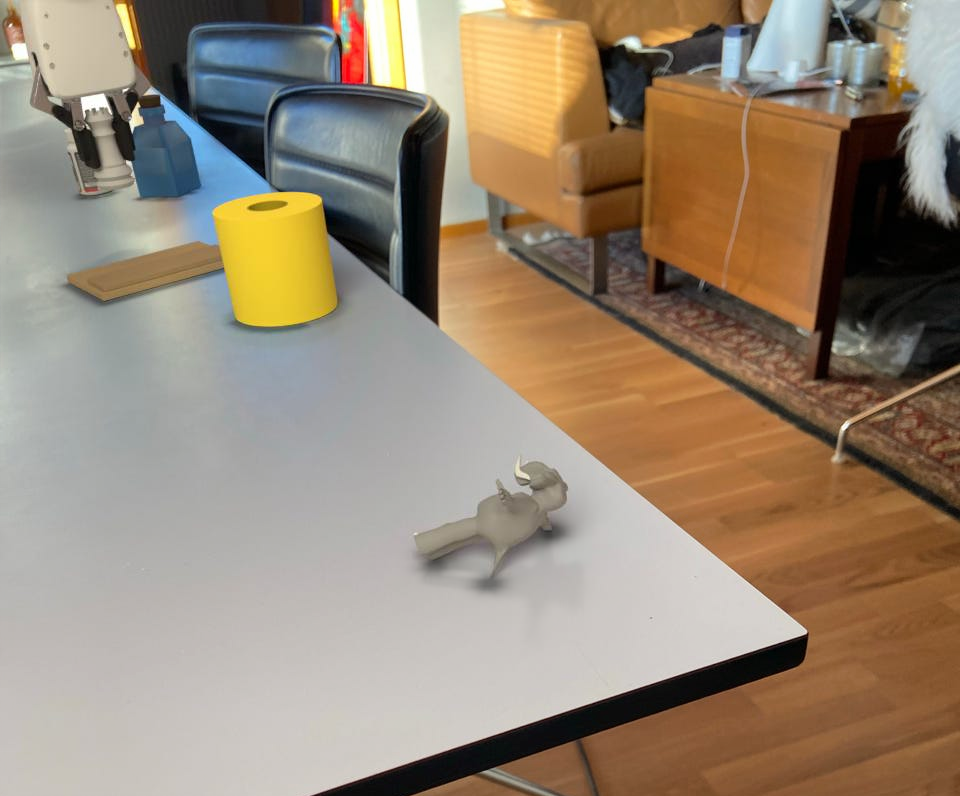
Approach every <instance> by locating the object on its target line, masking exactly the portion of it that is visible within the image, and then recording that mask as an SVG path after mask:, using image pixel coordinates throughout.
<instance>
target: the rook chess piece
mask: <svg viewBox="0 0 960 796" xmlns="http://www.w3.org/2000/svg"><path fill="white" fill-rule="evenodd" d="M84 115H85V116H84V123H86V126H89V127H90V130H91V131H92V134H93V138H94V142H95V145H96V149H97V152H98V156H99V160H100V163H101V167H100V168H98V169H96V170H95V172H94V177H95V178H97V179H98V180H99V181H98V182H97V184H96V185H97V186H98V187H99V188H100V189H101V190H111V191H117V190H122V189H127V188H130V187H132V186H134V183H135V182H136V179H135V176H134V177H133V176H132V173H133V172H134V171H133V168H132V166H130V165H129V164H128V163H127V160H124V159H123V157H122V155H121V153H120V150H119V148H118V145H117V143H116V139H115V131H114V130H113V128H112V124H111V123H112V121H113V118H114V117H113V116H112V113H111V112H110V110H109V107H107V106H106V107H104V106H99V107H98V109H97V108H96V107H92V108H90V109H89V108H88V109H87V108H86V109H85V110H84Z"/></svg>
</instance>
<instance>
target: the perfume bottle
mask: <svg viewBox="0 0 960 796" xmlns="http://www.w3.org/2000/svg"><path fill="white" fill-rule="evenodd" d="M137 104H138V105H139V107H137V111H138V114H139V117H141V118H142V121H143V122H142V123H141V124H138V125H135V126H134V127H133V130H132V135H133V139H134V143H135V147H136V150H135V151H133V152H134V156H135V161H130V163H131V168H132V170H133V171H132V172H133V174H134V175H133V176H134V178H135V182H136V187H137V190H138V194H139V197H140V198H141V197H143V198H178V197H180V196H181V197H182V196H183V195H185V194H187V193H189V192H191V191H193V190H196V189H198V188H200V187H202V182H201V178H200V174H199V169H198V164H197V160H196V155H195V151H194V146H193V142H192V137H190V136H189V135H188V133H187V132H186V131H185V129H183V128H182V126H180V124H179V123H178V122H177V120H166V117H165V114H166V109H165V108H166V107H165V104H162V103H161V94H158V93H157V94H156V93H155V94H144V95H143V96H142V97H141V98H140V99H139V100H138V103H137Z"/></svg>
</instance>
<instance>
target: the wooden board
mask: <svg viewBox="0 0 960 796" xmlns="http://www.w3.org/2000/svg"><path fill="white" fill-rule="evenodd" d="M222 269H224V264H223V260H222V255H221V251H220V246H219V244H208V243H205V242H202V241H200V240H196V241H193V242H189V243H185V244H181V245H177V246H174V247H169V248H165V249H161V250H157V251H154V252H150V253H147V254H146V253H145V254H142V255H139V256H134V257H130V258H127V259H123V260H120V261H115V262H111V263H108V264H104V265H99V266H96V267H92V268H88V269H85V270H81V271H77V272H73V273H69V274H66V280H67V282H68V283H69V284H70V285H73V286H75V287H76V288H78V289H80V290H82V291H84V292H86V293H88V294H90V295H92V296H93V297H96V298H97V299H99V300H101V301H103V302H106V301H110V300H114V299H118V298H120V297H125V296H128V295H132V294H135V293H140V292H143V291H146V290H150V289H153V288H157V287H161V286H165V285H168V284H173V283H176V282H180V281H183V280H186V279H190V278H194V277H197V276H201V275H204V274H208V273H211V272H216V271H219V270H222Z"/></svg>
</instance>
